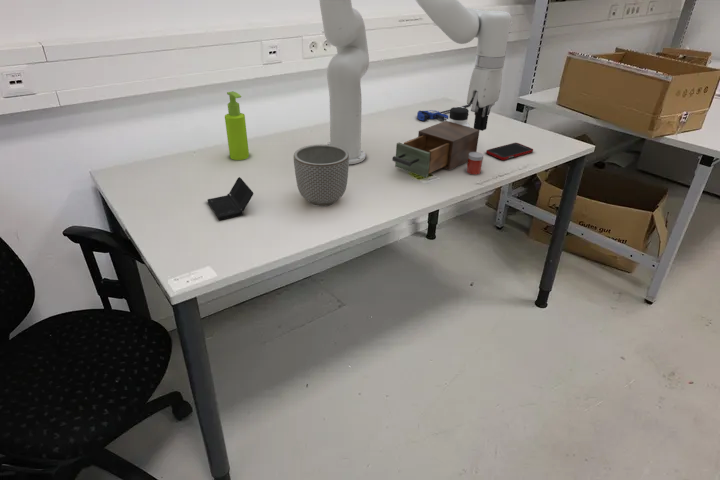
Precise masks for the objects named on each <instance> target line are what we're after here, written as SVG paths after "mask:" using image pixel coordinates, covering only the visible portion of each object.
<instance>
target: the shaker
mask: <svg viewBox="0 0 720 480" xmlns="http://www.w3.org/2000/svg"><path fill="white" fill-rule="evenodd" d="M483 160H484V154H483V152H478V151H476V152H470V153H469V155H468V161H467V162H466V164H467V165H466V170H465V171H466V173H467V174H470V175H480V174H481V172H482V167H483Z"/></svg>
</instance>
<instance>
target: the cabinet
mask: <svg viewBox="0 0 720 480" xmlns="http://www.w3.org/2000/svg"><path fill="white" fill-rule="evenodd" d="M480 131H481V130H478V129H474V127H471V126H470V127H467V126H463V125H460V124H456V123H453V122H449V121H446V120H443V121H442V122H439V123H436V124H434V125H430V126H428V127H426V128H423V129H419V130H418V134H417V137H419V136H422V135H425V136H429V137H432V138H435V139H438V140H442V141H445V142H448V143H451V144H450V152H449V160H448V165H446V166H444V167H442V168H441V169H444V170H446V171H447V170H448V171H451V170H453V169H455V168H457V167H459V166H461V165H463V164H466V163H468V155H469V153H470V152H478V151H477V150H478V143H479V137H480Z"/></svg>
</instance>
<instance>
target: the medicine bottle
mask: <svg viewBox="0 0 720 480" xmlns="http://www.w3.org/2000/svg"><path fill="white" fill-rule="evenodd" d="M449 110H450V111H449V115H448V119H447V118H445V121H449V122H453V123H456V124H460V125H463V126H467V127H471V125H470V124H469V122H468V118H469V113H470V112H469V109H468V107H467V108H466V107H462V106H452V107H451V108H450V109H449Z"/></svg>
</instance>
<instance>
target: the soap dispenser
mask: <svg viewBox="0 0 720 480" xmlns="http://www.w3.org/2000/svg"><path fill="white" fill-rule="evenodd" d="M226 95H228V96H229V102H228V103H227V111H228V113H226V114H225V115H224V122H225V123H224V124H225V130H226V138H227V145H228V154H229V158H230V160H233V161H242V160H243V161H244V160H247V159H248V158H249V157H250V151H249V144H248V143H249V141H248V132H247V123H246V115H245V113H243V112H241V109H240V107H241V106H240V103H239V102H238V101H237V99H240V98H242V95H241V94H240V93H238V92H236V91H227V92H226Z"/></svg>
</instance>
